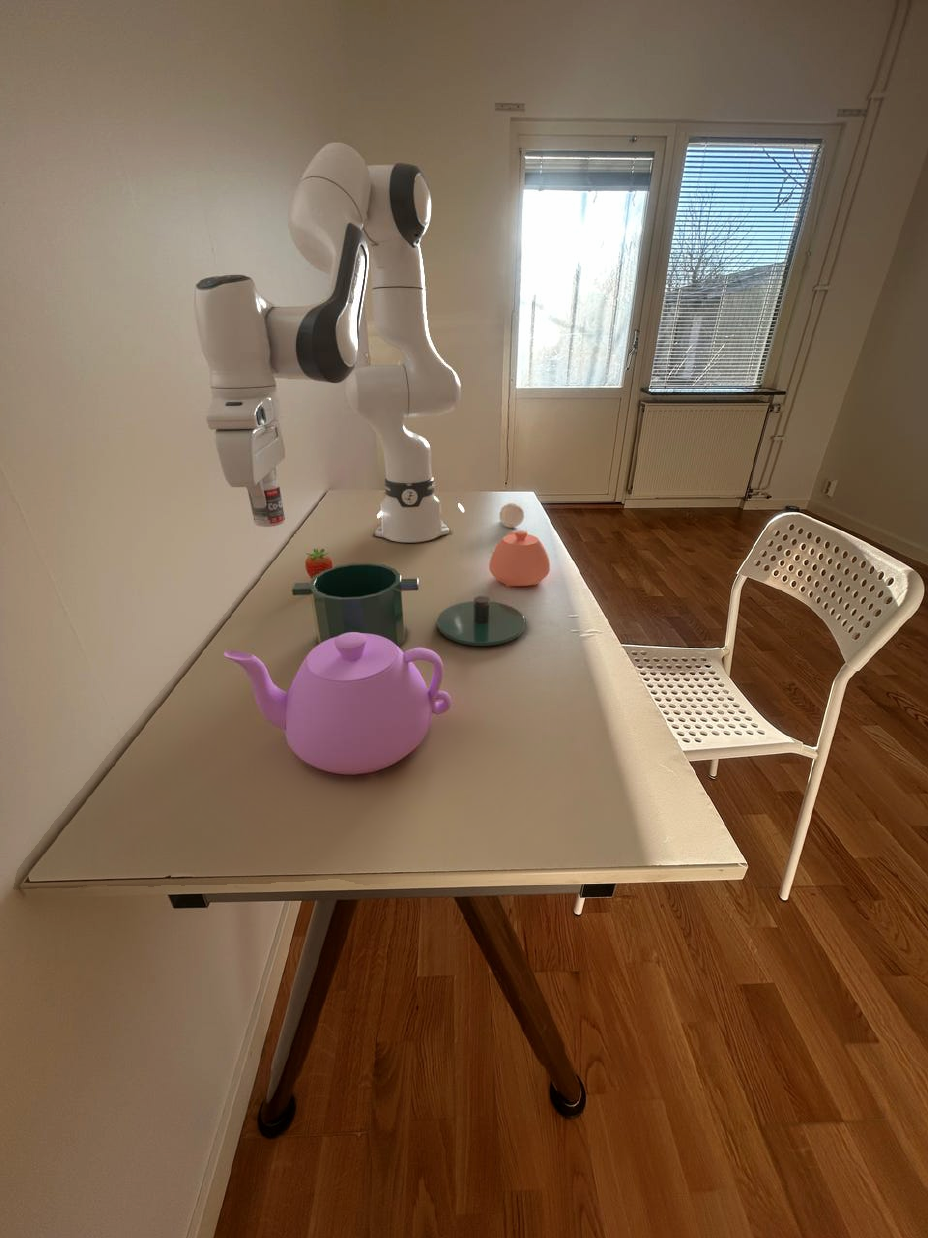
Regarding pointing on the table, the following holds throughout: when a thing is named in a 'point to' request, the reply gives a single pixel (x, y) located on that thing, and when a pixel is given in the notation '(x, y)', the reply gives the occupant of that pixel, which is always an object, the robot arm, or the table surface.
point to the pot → (358, 601)
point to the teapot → (351, 702)
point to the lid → (481, 622)
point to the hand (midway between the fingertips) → (266, 501)
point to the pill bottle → (269, 504)
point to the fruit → (317, 563)
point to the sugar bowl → (519, 560)
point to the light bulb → (511, 515)
